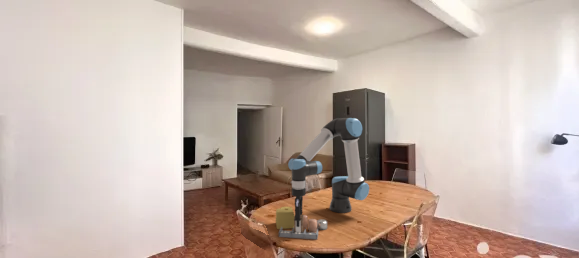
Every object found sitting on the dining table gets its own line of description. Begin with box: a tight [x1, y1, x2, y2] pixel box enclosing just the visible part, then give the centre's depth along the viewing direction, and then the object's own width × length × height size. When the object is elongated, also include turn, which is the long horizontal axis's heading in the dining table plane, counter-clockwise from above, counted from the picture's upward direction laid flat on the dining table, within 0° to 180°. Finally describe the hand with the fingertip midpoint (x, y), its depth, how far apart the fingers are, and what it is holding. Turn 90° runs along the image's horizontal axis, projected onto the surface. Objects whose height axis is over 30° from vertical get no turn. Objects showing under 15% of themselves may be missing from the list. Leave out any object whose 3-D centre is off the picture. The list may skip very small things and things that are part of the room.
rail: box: [278, 227, 319, 240], centre depth 144 cm, size 21×8×3 cm, turn 80°
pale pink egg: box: [307, 218, 317, 233], centre depth 149 cm, size 5×5×6 cm
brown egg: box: [303, 214, 309, 229], centre depth 156 cm, size 5×5×6 cm
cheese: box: [275, 206, 295, 230], centre depth 157 cm, size 10×11×10 cm
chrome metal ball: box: [316, 218, 328, 231], centre depth 154 cm, size 6×6×4 cm
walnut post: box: [294, 214, 305, 232], centre depth 145 cm, size 4×4×8 cm
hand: (298, 230), depth 145 cm, fingers closed on walnut post, 4 cm apart
